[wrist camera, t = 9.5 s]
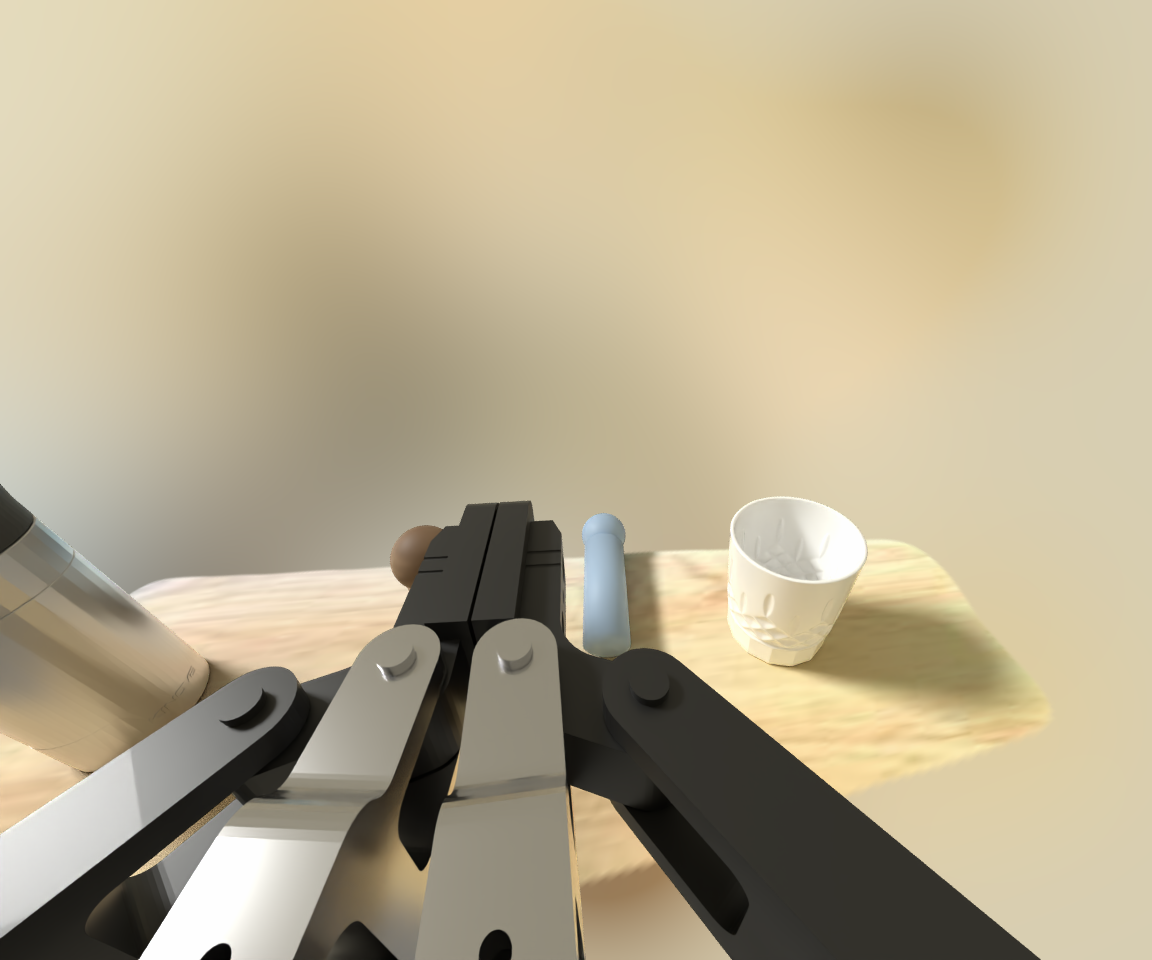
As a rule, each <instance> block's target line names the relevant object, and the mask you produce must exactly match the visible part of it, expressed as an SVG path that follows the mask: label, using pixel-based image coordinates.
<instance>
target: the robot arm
mask: <svg viewBox="0 0 1152 960" xmlns="http://www.w3.org/2000/svg"><path fill="white" fill-rule="evenodd" d="M565 598H566V581H565V569H564V558H563V548H562V536H561V532H560V531H559V529H558V528H557V526H556V525H555V523H554V522H553V520H550V521H534V516H533V509H532V503H531V501H517V502H500V504H499V503H483V504H468V505H467V506H466V508H465V511H464V514H463V516H462V519H461V522H460V525H459V526H446V527H445V528H444V529H443V530H442V531H441V532H440V533H439V534H438V535H437V536H436V537H434V538H433V539H432V540H431V542H430V544H429V547H428V549H427V551H426V554H425V556H424V561H422V563H421V565H420V567H419V570H418V575H416V577H415V579H414V581H413V584H412V586H411V588H410V591H409V593H408V595H407V597H406V600H405V602H404V604H403V607H402V609H401V611H400V614H399V616H398V618H397V621H396V623H395V625H394V628H392V629H390V630H388V631H385V632H384V633H382V634H380V635H379V636H377V637H376V638H374V639H373V640H372V641H371V642H369V643H368V644H367V645H366V646H365V647H364V648H363V650H362V651H361V652H360V654H359V655H358V657H357V658H356V660H355V662H354V663H353V665H352V666H351V667H349V668H346V669H344V670H341V671H338V672H335V673H332V674H329V675H326V676H323V677H320V678H317V679H314V680H310V681H307V682H304V683H301V684H300V683H299V681H298V680H297V678H296V677H295V675H294V674H293V673H292V672H291V671H290V670H288V669H286V668H282V667H266V668H261V669H258V670H254V671H252V672H249V673H247V674H245V675H243V676H240V677H238V678H237V679H235V680H233V681H232V682H230V683H228V684H227V685H225V686H224V687H222V688H221V689H219V690H218V691H216V692H215V693H213V694H212V695H210V696H209V697H207V698H206V699H204V700H203V701H201V702H200V703H198V704H197V705H195V704H196V703H197V701H198V700H199V698H200V697H201V695H202V693H203V692H204V689H205V687H206V685H207V682H208V678H209V674H210V671H209V664H208V663H207V661H206V660H205V659H204V658H203V657H202V656H201V655H200V654H198V653H197V652H196V651H195V650H194V649H192V648H191V647H190V646H189V645H188V644H186V643H185V642H184V641H183V640H182V639H180V638H179V637H178V636H177V635H176V634H175V633H174V632H173V631H171V630H170V629H169V628H168V627H167V626H165V625H164V624H163V623H162V622H161V621H159V620H158V619H157V618H156V617H155V616H153V615H152V614H151V613H150V612H149V611H148V610H146V609H145V608H144V607H143V606H142V605H140V604H139V603H138V602H137V601H136V600H134V599H133V598H132V597H131V596H130V595H128V594H127V593H126V592H125V591H124V590H122V589H121V588H120V587H119V586H118V585H117V584H115V583H114V582H113V581H112V580H111V579H109V578H108V577H107V576H106V575H105V574H103V573H102V572H101V571H100V570H99V569H98V568H96V567H95V566H94V565H93V564H91V563H90V562H89V561H88V560H87V559H86V558H84V557H83V556H82V555H81V554H80V553H78V552H77V551H76V550H75V549H74V548H72V547H71V546H70V545H69V544H67V543H66V542H65V541H64V540H63V539H61V538H60V537H59V536H58V535H57V534H55V533H54V532H53V531H52V530H51V529H49V528H48V527H47V526H46V525H45V524H44V523H42V522H41V521H40V520H39V519H38V518H36V517H35V516H34V515H33V514H32V513H31V512H29V511H28V510H27V509H26V508H25V507H23V506H22V505H21V504H20V503H19V502H17V501H16V500H15V499H14V498H13V497H12V496H11V495H10V494H9V493H8V492H7V491H6V490H5V489H4V488H3V486H1V484H0V733H2V734H4V735H6V736H8V737H10V738H12V739H15V740H17V741H19V742H21V743H23V744H25V745H27V746H29V747H31V748H33V749H35V750H37V751H39V752H41V753H43V754H45V755H48V756H50V757H52V758H54V759H56V760H58V761H60V762H62V763H65V764H67V765H69V766H71V767H73V768H75V769H78V770H81V771H84V772H94V773H92V774H91V775H89V776H88V777H86V778H85V779H83V780H82V781H80V782H79V783H77V784H76V785H74V786H72V787H71V788H69V789H68V790H66V791H65V792H63V793H62V794H60V795H59V796H57V797H56V798H54V799H53V800H51V801H50V802H48V803H47V804H45V805H44V806H42V807H41V808H39V809H38V810H36V811H35V812H33V813H32V814H30V815H29V816H27V817H26V818H24V819H23V820H21V821H20V822H18V823H17V824H15V825H13V826H12V827H10V828H9V829H7V830H6V831H4V832H3V833H1V834H0V960H586V957H585V946H584V932H583V921H582V909H581V896H580V885H579V875H578V864H577V852H576V839H575V826H574V813H573V801H572V788H571V785H572V786H574V787H577V788H580V789H583V790H585V791H588V792H591V793H594V794H597V795H599V796H602V797H605V798H608V799H610V801H611V803H612V805H613V806H614V808H615V809H616V810H617V812H618V813H619V814H620V816H621V817H622V818H623V820H624V821H625V822H626V823H627V825H628V826H629V827H630V829H631V830H632V831H633V832H634V834H635V835H636V836H637V838H638V839H639V840H640V842H641V843H642V844H643V845H644V847H645V848H646V849H647V851H648V852H649V853H650V854H651V856H652V857H653V858H654V860H655V861H656V862H657V863H658V865H659V866H660V867H661V869H662V870H663V871H664V872H665V874H666V875H667V876H668V877H669V879H670V880H671V881H672V883H673V884H674V885H675V887H676V888H677V889H678V891H679V892H680V893H681V895H682V896H683V897H684V898H685V900H686V901H687V902H688V904H689V905H690V906H691V907H692V909H693V910H694V911H695V913H696V914H697V915H698V916H699V918H700V919H701V920H702V922H703V923H704V924H705V926H706V927H707V928H708V929H709V931H710V932H711V933H712V935H713V936H714V937H715V939H716V940H717V941H718V942H719V944H720V945H721V946H722V948H723V949H724V950H725V951H726V953H727V954H728V955H729V956H730V958H731V959H732V960H1040V959H1039V958H1038V957H1037V956H1036V955H1035V954H1033V953H1032V952H1031V951H1030V950H1029V949H1027V948H1026V947H1025V946H1024V945H1022V944H1021V943H1020V942H1019V941H1018V940H1016V939H1015V938H1014V937H1013V936H1011V935H1010V934H1009V933H1008V932H1007V931H1005V930H1004V929H1003V928H1002V927H1001V926H999V925H998V924H997V923H996V922H995V921H993V920H992V919H991V918H990V917H988V916H987V915H986V914H985V913H984V912H982V911H981V910H980V909H979V908H978V907H976V906H975V905H974V904H973V903H972V902H970V901H969V900H968V899H967V898H966V897H964V896H963V895H962V894H961V893H960V892H958V891H957V890H956V889H955V888H953V887H952V886H951V885H950V884H949V883H947V882H946V881H945V880H944V879H942V878H941V877H940V876H939V875H938V874H936V873H935V872H934V871H933V870H932V869H930V868H929V867H928V866H927V865H926V864H924V863H923V862H922V861H921V860H920V859H918V858H917V857H916V856H915V855H913V854H912V853H911V852H910V851H909V850H907V849H906V848H905V847H904V846H903V845H901V844H900V843H899V842H898V841H897V840H895V839H894V838H893V837H891V836H890V835H889V834H888V833H887V832H886V831H884V830H883V829H882V828H881V827H880V826H878V825H877V824H876V823H875V822H873V821H872V820H871V819H870V818H869V817H867V816H866V815H865V814H864V813H862V812H861V811H860V810H859V809H858V808H856V807H855V806H854V805H853V804H852V803H850V802H849V801H848V800H847V799H846V798H844V797H843V796H842V795H841V794H840V793H838V792H837V791H836V790H835V789H834V788H832V787H831V786H830V785H829V784H827V783H826V782H825V781H824V780H823V779H821V778H820V777H819V776H818V775H817V774H815V773H814V772H813V771H812V770H810V769H809V768H808V767H807V766H806V765H804V764H803V763H802V762H801V761H800V760H798V759H797V758H796V757H795V756H794V755H792V754H791V753H790V752H789V751H787V750H786V749H785V748H784V747H783V746H781V745H780V744H779V743H778V742H777V741H775V740H774V739H773V738H772V737H771V736H769V735H768V734H767V733H766V732H764V731H763V730H762V729H761V728H760V727H758V726H757V725H756V724H755V723H754V722H752V721H751V720H750V719H749V718H747V717H746V716H745V715H744V714H743V713H741V712H740V711H739V710H738V709H737V708H735V707H734V706H733V705H732V704H731V703H729V702H728V701H727V700H726V699H724V698H723V697H722V696H721V695H720V694H718V693H717V692H716V691H715V690H714V689H712V688H711V687H710V686H709V685H708V684H706V683H705V682H704V681H703V680H701V679H700V678H699V677H698V676H697V675H695V674H694V673H693V672H692V671H691V670H689V669H688V668H687V667H686V666H684V665H683V664H682V663H681V662H680V661H678V660H677V659H676V658H674V657H673V656H671V655H669V654H667V653H665V652H662V651H659V650H655V649H648V648H640V649H634V650H630V651H627V652H625V653H623V654H621V655H619V656H618V657H616V658H615V659H614V660H613V661H610V660H607V659H603V658H599V657H595V656H592V655H589V654H586V653H584V652H582V651H580V650H579V649H577V648H576V647H574V646H573V645H572V644H571V643H570V642H569V641H568V639H567V638H566V614H565V613H566V600H565ZM230 794H232V795H233V796H234V797H235V798H236V799H235V800H234V801H233V802H231V803H230V804H229V805H228V806H227V807H225V808H224V809H223V810H222V811H221V812H219V813H218V814H217V815H216V816H215V817H213V818H212V819H211V820H210V821H209V822H207V823H206V824H205V825H204V826H203V827H201V828H200V829H199V830H198V831H197V832H195V833H194V834H193V835H192V836H191V837H189V838H188V839H187V840H186V841H184V842H183V843H182V844H181V845H180V846H178V847H177V848H176V849H175V850H174V851H172V852H171V853H170V854H169V855H168V856H166V857H165V858H164V859H163V860H162V861H160V862H159V863H158V864H156V865H155V866H153V867H152V868H150V869H148V870H147V871H145V872H143V873H141V874H138V875H135V876H132V877H130V876H131V875H132V874H133V873H135V872H136V871H137V870H138V869H139V868H141V867H142V866H143V865H144V864H146V863H147V862H148V861H149V860H150V859H152V858H153V857H154V856H155V855H157V854H158V853H159V852H160V851H161V850H163V849H164V848H165V847H166V846H168V845H169V844H170V843H171V842H172V841H174V840H175V839H176V838H177V837H179V836H180V835H181V834H182V833H184V832H185V831H186V830H187V829H188V828H190V827H191V826H192V825H193V824H195V823H196V822H197V821H198V820H199V819H201V818H202V817H203V816H204V815H206V814H207V813H208V812H209V811H210V810H212V809H213V808H214V807H215V806H217V805H218V804H219V803H220V802H221V801H223V800H224V799H225V798H226V797H228V796H229V795H230Z"/></svg>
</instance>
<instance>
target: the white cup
mask: <svg viewBox="0 0 1152 960" xmlns="http://www.w3.org/2000/svg"><path fill="white" fill-rule="evenodd" d="M867 553H868V550H867V544H866V541H865V538H864V536H863V535H862V533H861V532H860V530H859V529H858V528H857V527H856V525H855V524H854V523H852V522H851V521H850V520H849V519H848V518H847V517H845V516H844V515H842V514H841V513H839V512H837V511H836V510H834V509H832V508H830V507H828V506H825V505H823V504H820V503H817V502H814V501H811V500H807V499H802V498H796V497H769V498H763V499H759V500H756V501H753V502H751V503H749V504H747V505H745V506H744V507H742V508H741V509H740V510H739V511H738V512H737V513H736V514H735V516H734V517H733V519H732V522H731V527H730V547H729V564H728V602H729V603H728V617H727V621H728V623H729V626H730V629H731V632H732V635H733V638H734V639H735V640H736V641H737V642H738V643H739V644H740V645H741V646H742V647H743V648H744V649H745V650H746V652H747V653H749V654H751V655H753V656H755V657H757V658H759V659H761V660H763V661H765V662H767V663H769V664H776V665H784V666H794V665H797V664H800V663H803V662H807V661H810V660H811V659H812V658H813V656H814V655H815V654H816V653H817V651H818V650H819V649H820V648H821V646H822V644H823V642H824V640H825V638H826V636H827V635H828V634H829V632H830V631H831V629H832V627H833V625H834V623H835V621H836V620H837V618H838V616H839V615H840V613H841V611H842V609H843V607H844V605H845V602H846V600H847V598H848V596H849V594H850V592H851V590H852V588H853V586H854V584H855V582H856V580H857V578H858V576H859V574H860V572H861V570H862V568H863V566H864V564H865V562H866V559H867Z"/></svg>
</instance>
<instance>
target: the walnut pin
mask: <svg viewBox="0 0 1152 960" xmlns="http://www.w3.org/2000/svg"><path fill="white" fill-rule="evenodd" d="M442 530H443V529H441V528H438V527H435V526H428V525H424V526H417V527H414V528H412V529H410V530H408V531H406V532H405V533H403V534H402V535H401V536H400V537H399V539H398V540H397V541H396V543H395V544H394V546H393V548H392V552H391V556H390V564H391V569H392V572H393V574H394V576H395V577H396V578H397V580H398V581H399V582H400V583H401V584H403V585H404V586H406V587H407V588H408V590H409V591H410V588H411V586H412V584H413V581H414V579H415V577H416V575H418V570H419V567H420V565H421V563H422V561H424V556H425V554H426V551H427V549H428V547H429V544H430V542H431V540H432V539H433V538H434V537H436V536H437V535H438V534H439V533H440V532H441V531H442Z"/></svg>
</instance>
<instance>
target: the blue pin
mask: <svg viewBox="0 0 1152 960" xmlns="http://www.w3.org/2000/svg"><path fill="white" fill-rule="evenodd" d="M582 539H583V543H584V545H585V567H584V616H583V647H584V649H585V650H586V651H587V652H588V653H590V654H592V655H595V656H598V657H616V656H619V655H621V654H623V653H625V652H627V651H628V650H629V649H630V647H631V638H630V625H629V613H628V600H627V587H626V575H625V562H624V550H623V544H624V541H625V529H624V526H623V524H622V523H621V521H620V520H618V518H616V517H615V516H613V515H611V514H606V513H601V514H596V515H594V516H592V517H591V518H590V519H589V520H588V521H587V522H586V523H585V525H584V527H583V531H582Z"/></svg>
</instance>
